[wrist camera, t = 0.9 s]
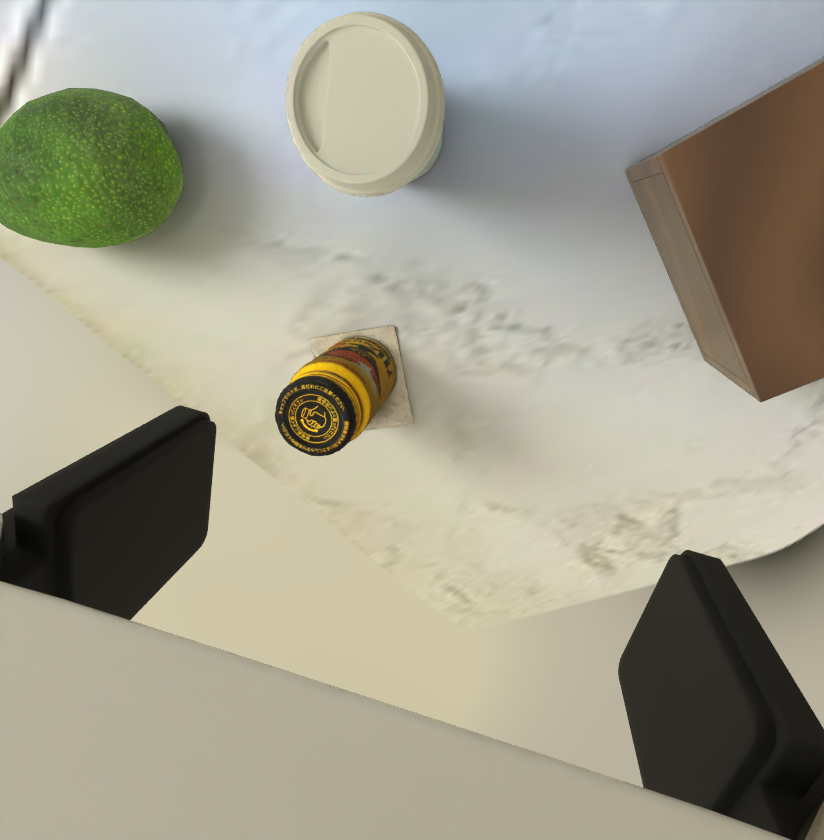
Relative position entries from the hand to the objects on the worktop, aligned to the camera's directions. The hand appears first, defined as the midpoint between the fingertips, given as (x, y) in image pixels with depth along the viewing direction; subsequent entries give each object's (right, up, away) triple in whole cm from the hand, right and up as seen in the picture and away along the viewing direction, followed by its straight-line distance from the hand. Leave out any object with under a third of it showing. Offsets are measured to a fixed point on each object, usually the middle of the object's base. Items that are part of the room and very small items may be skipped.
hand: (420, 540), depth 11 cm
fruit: (-23, +22, +32) cm, 45 cm away
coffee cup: (-1, +23, +27) cm, 35 cm away
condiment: (-4, +6, +34) cm, 35 cm away
